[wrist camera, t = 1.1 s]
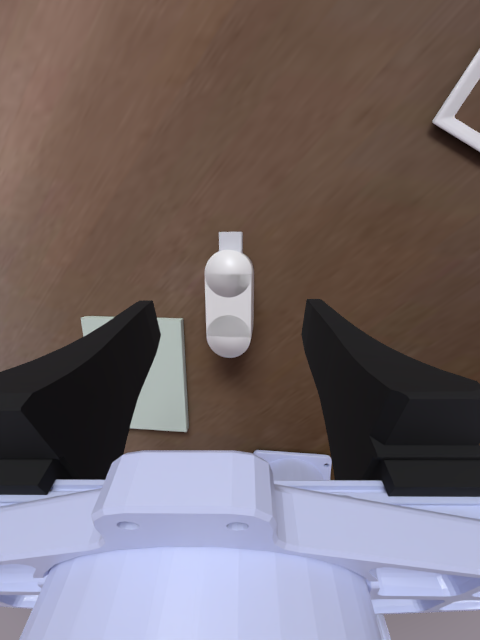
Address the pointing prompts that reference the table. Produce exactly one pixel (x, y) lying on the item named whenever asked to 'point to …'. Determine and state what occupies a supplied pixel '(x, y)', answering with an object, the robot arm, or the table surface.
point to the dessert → (446, 114)
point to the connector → (229, 297)
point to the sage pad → (159, 379)
